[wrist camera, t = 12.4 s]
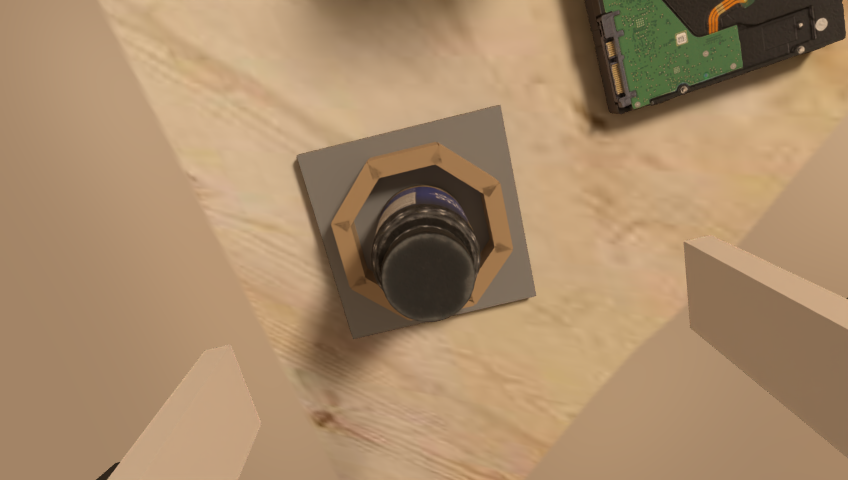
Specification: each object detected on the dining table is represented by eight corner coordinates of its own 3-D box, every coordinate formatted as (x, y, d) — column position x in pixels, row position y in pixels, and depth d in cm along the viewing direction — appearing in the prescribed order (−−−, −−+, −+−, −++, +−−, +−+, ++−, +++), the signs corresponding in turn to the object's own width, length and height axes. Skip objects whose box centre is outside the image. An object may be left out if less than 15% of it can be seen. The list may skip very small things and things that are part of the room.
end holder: (299, 154, 34) (289, 159, 31) (498, 105, 34) (506, 105, 31) (354, 334, 38) (350, 352, 35) (533, 291, 38) (543, 306, 35)
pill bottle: (482, 231, 35) (516, 287, 25) (416, 283, 36) (421, 359, 25) (427, 164, 34) (437, 193, 23) (359, 220, 35) (340, 272, 24)
